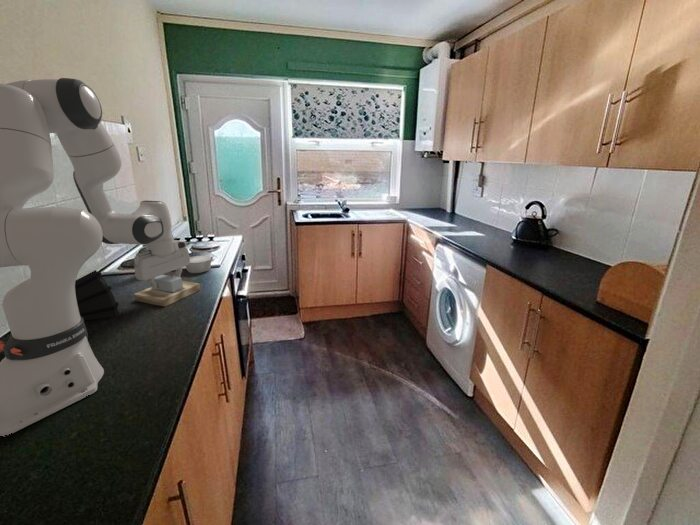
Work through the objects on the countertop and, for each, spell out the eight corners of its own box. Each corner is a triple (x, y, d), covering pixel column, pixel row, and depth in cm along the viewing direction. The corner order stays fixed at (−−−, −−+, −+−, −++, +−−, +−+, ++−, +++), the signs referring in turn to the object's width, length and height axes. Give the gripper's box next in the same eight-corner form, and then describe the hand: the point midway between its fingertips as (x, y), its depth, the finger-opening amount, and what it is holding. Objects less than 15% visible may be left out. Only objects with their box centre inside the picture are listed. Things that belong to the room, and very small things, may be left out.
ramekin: (194, 265, 156) (193, 254, 155) (217, 266, 155) (216, 255, 153) (179, 273, 146) (178, 262, 144) (203, 275, 144) (202, 263, 143)
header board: (164, 306, 114) (162, 293, 112) (135, 300, 119) (132, 287, 117) (200, 289, 128) (198, 277, 127) (172, 284, 133) (170, 273, 131)
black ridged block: (126, 311, 107) (92, 272, 101) (86, 332, 105) (49, 294, 99) (130, 306, 110) (97, 268, 104) (91, 327, 109) (56, 290, 103)
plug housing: (183, 288, 123) (181, 277, 122) (173, 292, 119) (171, 281, 118) (162, 284, 126) (160, 274, 125) (152, 288, 122) (150, 278, 121)
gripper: (140, 255, 108) (147, 295, 112) (190, 241, 126) (195, 276, 130) (126, 253, 110) (134, 293, 114) (177, 239, 128) (182, 274, 132)
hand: (167, 284), depth 122 cm, fingers open, 8 cm apart
